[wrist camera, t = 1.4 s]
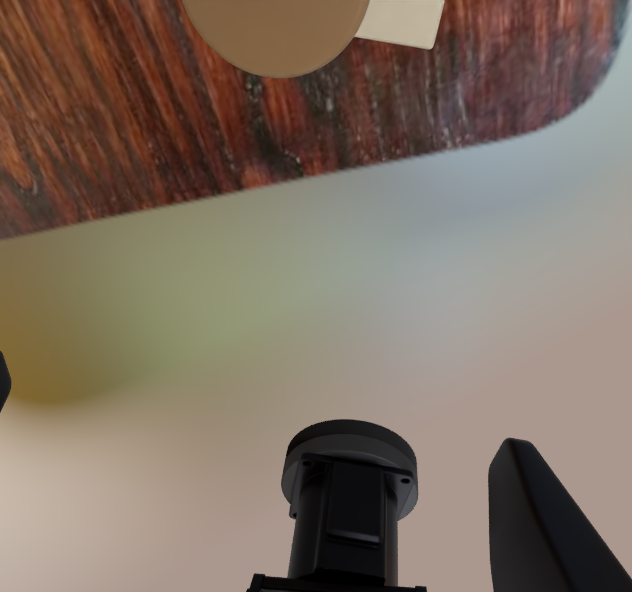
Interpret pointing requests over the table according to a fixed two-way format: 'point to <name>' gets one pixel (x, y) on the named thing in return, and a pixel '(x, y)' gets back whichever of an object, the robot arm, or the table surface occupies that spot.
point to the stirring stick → (277, 32)
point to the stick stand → (402, 22)
